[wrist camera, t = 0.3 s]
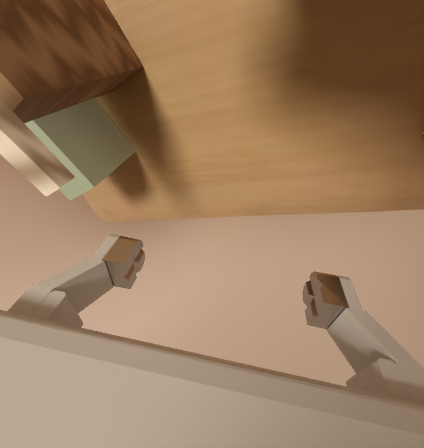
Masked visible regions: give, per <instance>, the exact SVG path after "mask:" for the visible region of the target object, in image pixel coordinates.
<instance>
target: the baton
mask: <svg viewBox="0 0 424 448" xmlns="http://www.w3.org/2000/svg"><path fill="white" fill-rule="evenodd" d="M0 154H1V155H2V156H3V157H4V158H5V159H6V160H7V161H8V162H9V163H10V164H12V165H13V166H14V167H15V168H16V169H17V170H18V171H19V172H20V173H21V174H22V175H23V176H24V177H26V178H27V179H28V180H29V181H30V182H31V183H32V184H33V185H34V186H35V187H36V188H38V189H39V190H40V191H41V192H42V193H43V194H44V195H45V196H48V195H50V194H51V193H53V192H54V191H56V190H58V189H59V188H61V187H62V186H63V185H65V184H66V183H68V182H69V181H70V180H72V179H73V178H74V177H75V176H74V175H73V174H72V173H71V172H70V171H69V170H68V169H67V168H66V167H65V166H64V165H63V164H62V163H61V162H60V161H59V159H58V158H57V157H56V156H55V155H54V154H53V153H52V152H51V151H50V150H49V149H48V148H47V147H46V146H45V145H44V144H43V143H42V142H41V141H40V139H39V138H38V137H37V136H36V135H35V134H34V133H33V132H32V131H31V130H30V129H29V128H28V127H27V126H26V125H25V124H24V123H23V122H22V121H21V120H20V118H19V117H18V116H17V115H16V114H15V113H14V112H13V111H12V110H11V109H10V108H9V107H8V106H7V105H6V104H5V103H4V102H3V101H2V100H1V98H0Z"/></svg>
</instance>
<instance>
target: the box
mask: <svg viewBox="0 0 424 448" xmlns="http://www.w3.org/2000/svg"><path fill="white" fill-rule="evenodd" d="M24 124H25V125H26V126H27V127H28V128H29V129H30V130H31V131H32V132H33V133H34V134H35V135H36V136H37V137H38V138H39V139H40V141H41V142H42V143H43V144H44V145H45V146H46V147H47V148H48V149H49V150H50V151H51V152H52V153H53V154H54V155H55V156H56V157H57V158H58V159H59V161H60V162H61V163H62V164H63V165H64V166H65V167H66V168H67V169H68V170H69V171H70V172H71V173H72V174H73V175H74V176H75V177H74V178H73V179H72V180H70V181H69V182H68V183H66V184H65V185H63V186H62V187H61V188H59V190H60V191H61V192H62V193H63V194H64V195H65V196H66V197H67V198H68V199H69V200H72V199H74V198H76V197H77V196H79V195H81V194H83V193H85V192H86V191H88V190H90V189H92V188H94V187H95V186H96V185H97V184H99V183H100V182H101V181H102V180H103V179H104V178H106V177H107V176H108V175H109V174H110V173H111V172H113V171H114V170H115V169H116V168H117V167H118V166H120V165H121V164H122V163H123V162H124V161H125V160H127V159H128V158H129V157H130V156H131V155H132V154H134V153H135V150H134V149H133V148H132V146H131V145H130V144H129V142H128V141H127V140H126V138H125V137H124V136H123V134H122V133H121V132H120V130H119V129H118V127H117V126H116V125H115V123H114V122H113V121H112V119H111V118H110V117H109V115H108V114H107V113H106V111H105V110H104V109H103V107H102V106H101V105H100V103H99V102H98V100H97V99H96V98H93V99H90V100H87V101H85V102H82V103H79V104H76V105H74V106H71V107H68V108H65V109H63V110H60V111H57V112H54V113H52V114H49V115H46V116H43V117H41V118H38V119H35V120H32V121H29V122H27V123H24Z"/></svg>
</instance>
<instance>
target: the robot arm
mask: <svg viewBox="0 0 424 448" xmlns="http://www.w3.org/2000/svg"><path fill="white" fill-rule="evenodd" d="M142 247H143V243H142V241H141V240H137V239H133V238H128V237H123V236H118V235H112V234H111V235H109V236H108V237H107V238H106V240H105V241H104V242H103V243H102V245H101V246H100V247H99V248H98V250H97V251H96V252H95V253H94V255H93V256H92V257H91V258H86V259H84V260H82V261H80V262H78V263H76V264H74V265H72V266H70V267H68V268H66V269H64V270H61V271H59V272H58V273H55V274H53V275H51V276H49V277H47V278H45V279H43V280H41V281H39V282H37V283H35V284H33V285H32V286H31V287H30V288H29V289H28V290H27V291H26V292H25V293H24V294H23V295H22V296H21V297H20V298H19V300H17V301H16V303H15V304H14V305H13V306H12V307H11V308H10V309H9V310H8V311H3V310H0V448H424V369H423V367H422V365H420V363H418V362H417V360H416V359H414V358H413V357H412V356H411V355H410V354H409V353H408V352H407V351H406V350H405V349H404V348H403V347H402V346H401V345H400V344H399V343H398V342H397V341H396V340H395V339H394V338H393V337H392V336H391V335H390V334H389V333H388V332H387V331H386V330H385V329H384V328H383V327H382V326H381V325H380V324H379V323H378V322H377V321H376V320H375V319H374V318H373V317H372V316H371V315H370V314H369V313H368V312H366V311H363V309H362V307H361V304H360V302H359V299H358V296H357V294H356V292H355V289H354V287H353V284H352V281H351V279H350V278H348V277H342V276H336V275H332V274H326V273H319V272H313V273H311V275H310V281H308V282H306V284H305V286H304V290H303V301H304V303H305V304H306V305H307V309H306V310H305V313H306V319H307V324H308V325H311V326H316V327H319V328H324V329H327V331H328V333H329V334H330V336H331V337H332V339H333V340H334V342H335V343H336V345H337V346H338V347H339V349H340V350H341V352H342V353H343V355H344V356H345V358H346V359H347V361H348V362H349V363H350V365H351V366H352V368H353V369H354V371H355V372H356V375H354V376H353V377H352V378H350V379H349V380H348V381H347V382H346V384H347V387H345V386H341V385H336V384H332V383H327V382H323V381H319V380H314V379H310V378H305V377H301V376H296V375H291V374H287V373H283V372H278V371H274V370H269V369H264V368H260V367H256V366H251V365H247V364H242V363H237V362H233V361H228V360H224V359H219V358H214V357H210V356H206V355H201V354H197V353H192V352H188V351H183V350H179V349H174V348H170V347H165V346H161V345H156V344H152V343H147V342H142V341H138V340H134V339H129V338H124V337H120V336H115V335H111V334H107V333H101V332H98V331H93V330H88V329H84V328H81V327H82V325H83V322H82V320H81V318H80V317H79V315H78V313H79V312H80V311H82V310H83V309H84V308H86V307H87V306H88V305H90V304H91V303H93V302H94V301H95V300H97V299H98V298H99V297H101V296H102V295H103V294H105V293H106V292H107V291H109V290H110V289H111V288H113V286H117V287H122V288H128V289H131V287H132V285H133V283H134V281H135V280H136V273H137V272H139V271H140V270H141V268H142V266H143V264H144V260H145V254H144V251H143V250H142Z"/></svg>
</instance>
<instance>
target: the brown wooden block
mask: <svg viewBox="0 0 424 448" xmlns="http://www.w3.org/2000/svg"><path fill="white" fill-rule="evenodd" d="M141 68H143V65H142V64H141V62H140V60H139V59H138V57H137V55H136V54H135V52H134V50H133V49H132V47H131V45H130V44H129V42H128V40H127V38H126V37H125V35H124V33H123V32H122V30H121V28H120V27H119V25H118V23H117V22H116V20H115V18H114V17H113V15H112V13H111V12H110V10H109V8H108V7H107V5H106V3H105V2H104V0H0V98H1V100H2V101H3V102H4V103H5V104H6V105H7V106H8V107H9V108H10V109H11V110H12V111H13V112H14V113H15V114H16V115H17V116H18V117H19V118H20V120H21V121H22V122H23V123H27V122H29V121H32V120H35V119H38V118H41V117H43V116H46V115H49V114H52V113H54V112H57V111H60V110H63V109H65V108H68V107H71V106H74V105H76V104H79V103H82V102H85V101H87V100H90V99H93V98H96V97H98V96H101V95H104V94H107V93H109V92H112V91H115V90H116V89H117V88H119V87H120V86H121V85H122V84H123V83H125V82H126V81H127V80H128V79H129V78H131V77H132V76H133V75H134V74H135V73H137V72H138V71H139V70H140V69H141Z"/></svg>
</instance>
